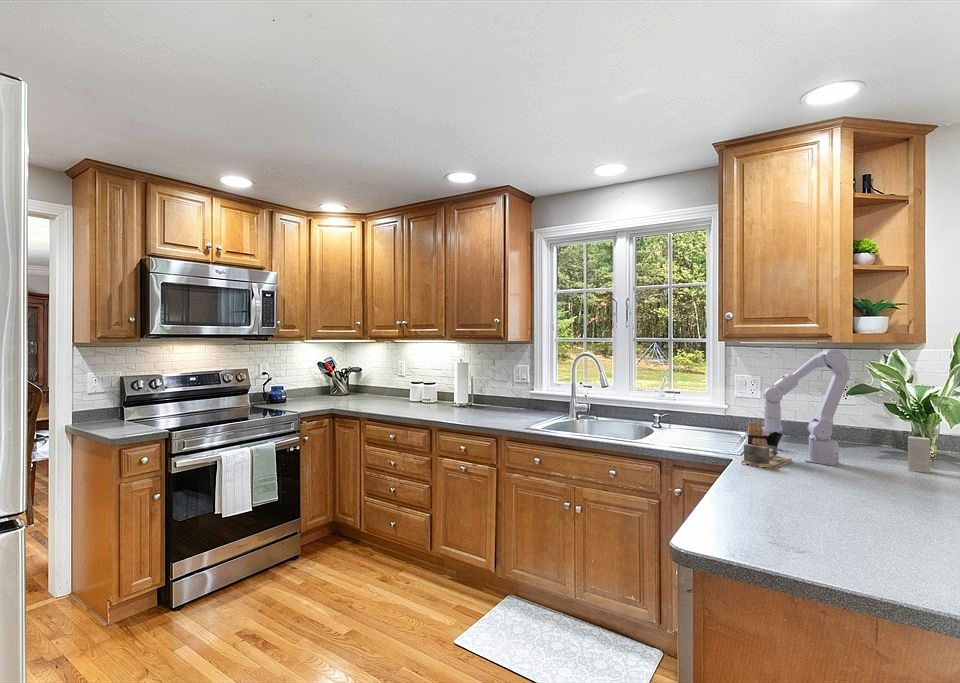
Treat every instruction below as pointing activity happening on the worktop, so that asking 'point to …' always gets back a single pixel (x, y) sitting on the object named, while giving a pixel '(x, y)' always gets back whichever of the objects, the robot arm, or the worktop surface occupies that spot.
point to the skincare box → (919, 454)
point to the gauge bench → (771, 462)
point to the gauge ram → (771, 450)
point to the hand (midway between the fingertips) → (772, 451)
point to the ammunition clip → (756, 434)
